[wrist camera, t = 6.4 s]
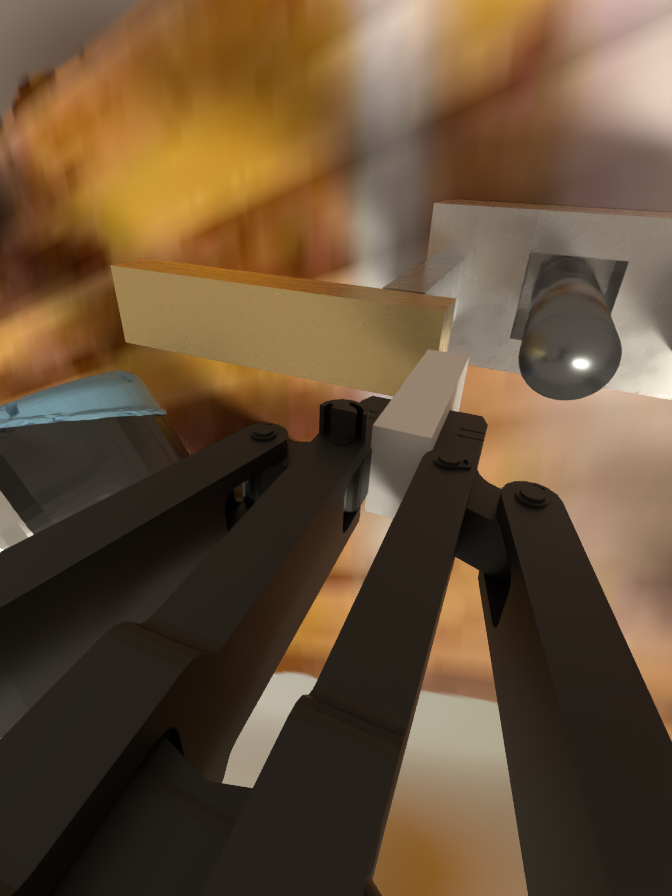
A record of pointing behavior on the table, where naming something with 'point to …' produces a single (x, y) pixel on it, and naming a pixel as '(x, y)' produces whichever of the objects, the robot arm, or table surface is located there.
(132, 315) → the rectangular wooden block
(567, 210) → the grey post stand
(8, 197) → the table surface
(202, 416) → the table surface
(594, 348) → the smooth metal cylinder
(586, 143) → the table surface
